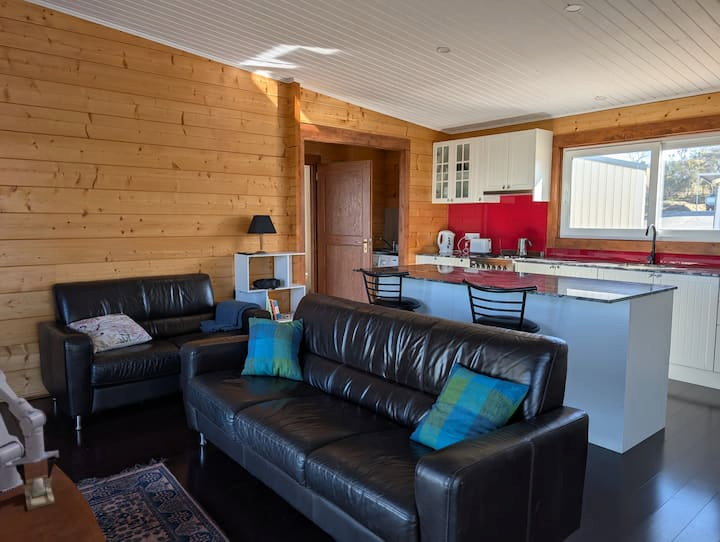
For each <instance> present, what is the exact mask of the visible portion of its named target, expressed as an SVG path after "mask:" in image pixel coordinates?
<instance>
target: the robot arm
mask: <svg viewBox="0 0 720 542" xmlns="http://www.w3.org/2000/svg"><path fill="white" fill-rule="evenodd" d="M0 398H1V399H2V400H3V401H4V402H6V404H7V405H8V410H9V411H10V412H11V414H12V415H13V416H15V417H16V418H17V420H18V421H19V423H18V424H19V427H20V429H21V430H22V435H23V436H24V445H23V444H22V442H20V440H19V438H18V437H17V436H15V435H11V434H9V432H8V429H7V426H6V425H5V421H4V419H3V416H2V414H1V413H0V492H1V491H2V492H1V493H5V492H8V491H10V490H12V488H13V489H15V488H17V487H20V486H23V485H22V482H23V483H24V485H25V484H26V471H25V470H26V469H25V465H27V464H35V463H39V462H41V461H43V460H45V461H46V463H47V475H48V478H51V477H52V472H53V468H54V466H55V464H56V461H57V459H56V458H60V455H59V454H60V453H59V450H58V449H57V450H56V449H55V450H52V451H45V443H44V442H45V441H44V440H45V439H44V428H43V426H44V425H45V424H46V422H47V416H46V414H45V413H44V412H43V410H40V409H37V408H34V407H33V406H32V405H31V404H30V403H29V402H28V401H27V400H26V399H25V398H24V397H18V396H17V395H16V393H15V392H14V391H13V389H12V388H11V387H10V386H9V384H8V383H7V377H6V374H5V373H4V372H3V371H2V370H1V369H0ZM24 446H25V448H24ZM24 451H25V456H23V455H24ZM22 456H23V457H22ZM9 489H10V490H9ZM7 490H8V491H7ZM4 491H5V492H4Z"/></svg>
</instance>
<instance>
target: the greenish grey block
mask: <svg viewBox="0 0 720 542" xmlns="http://www.w3.org/2000/svg"><path fill="white" fill-rule="evenodd" d="M36 478H37V479H34V478H33V479H34V480H33V487H34V490H32V496H33V497H37V496H40V495H44V494H46V490H45V487H43V478H38V477H36Z"/></svg>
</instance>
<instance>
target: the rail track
mask: <svg viewBox="0 0 720 542" xmlns="http://www.w3.org/2000/svg"><path fill="white" fill-rule="evenodd" d="M45 476H48V474H46V475H42V476H38V477H34V478H30V479H27V480H26V481H30V480H34V479H37V478H42V477H45ZM51 483H52V482H50V479H46V480H43V487H45V490H46V494H44V495H40V496H37V497H33V496H32V490H34V487H33V483H31V484H27V485H25V489H23V490H24V497H25V501H26V508H27V511H31V510H34V509H38V508H42V507H45V506H49V505H52V504H55V503H56V502H55V498H54V493H53V491H52V486H51V485H52V484H51Z"/></svg>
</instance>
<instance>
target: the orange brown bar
mask: <svg viewBox="0 0 720 542" xmlns="http://www.w3.org/2000/svg"><path fill="white" fill-rule="evenodd" d="M44 476H45V477H42V476H41V477H42V478H43V480H46V479H50V482H51V483H53V479H52V476H51V478H48V476H46V475H44ZM29 480H30V479H29ZM31 483H33V480H30V481H26V484H25V485H27V484H31ZM25 485H24V483H23V482H22V485H21V486H22V489H23V490H24V489H25Z"/></svg>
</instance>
